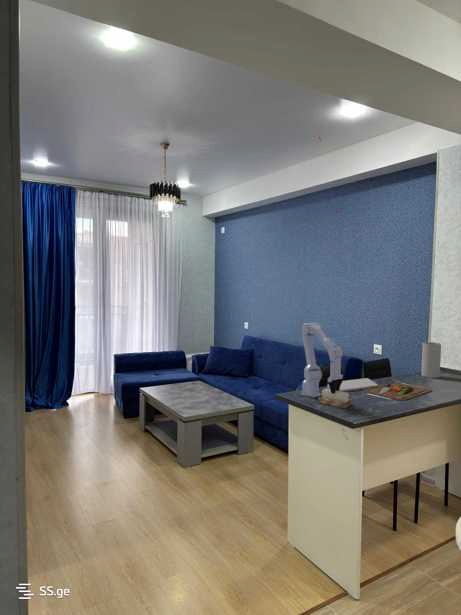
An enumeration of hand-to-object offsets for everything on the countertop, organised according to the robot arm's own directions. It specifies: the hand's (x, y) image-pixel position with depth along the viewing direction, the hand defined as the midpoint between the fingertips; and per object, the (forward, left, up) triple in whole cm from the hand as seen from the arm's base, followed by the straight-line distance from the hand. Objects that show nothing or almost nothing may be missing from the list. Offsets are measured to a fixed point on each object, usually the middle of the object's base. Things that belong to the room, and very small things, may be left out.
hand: (334, 392), depth 231 cm
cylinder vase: (+20, +117, -7) cm, 119 cm away
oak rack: (0, 0, -6) cm, 6 cm away
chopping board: (+17, +54, -7) cm, 57 cm away
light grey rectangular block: (0, 0, -4) cm, 4 cm away
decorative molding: (-8, +41, -7) cm, 43 cm away
